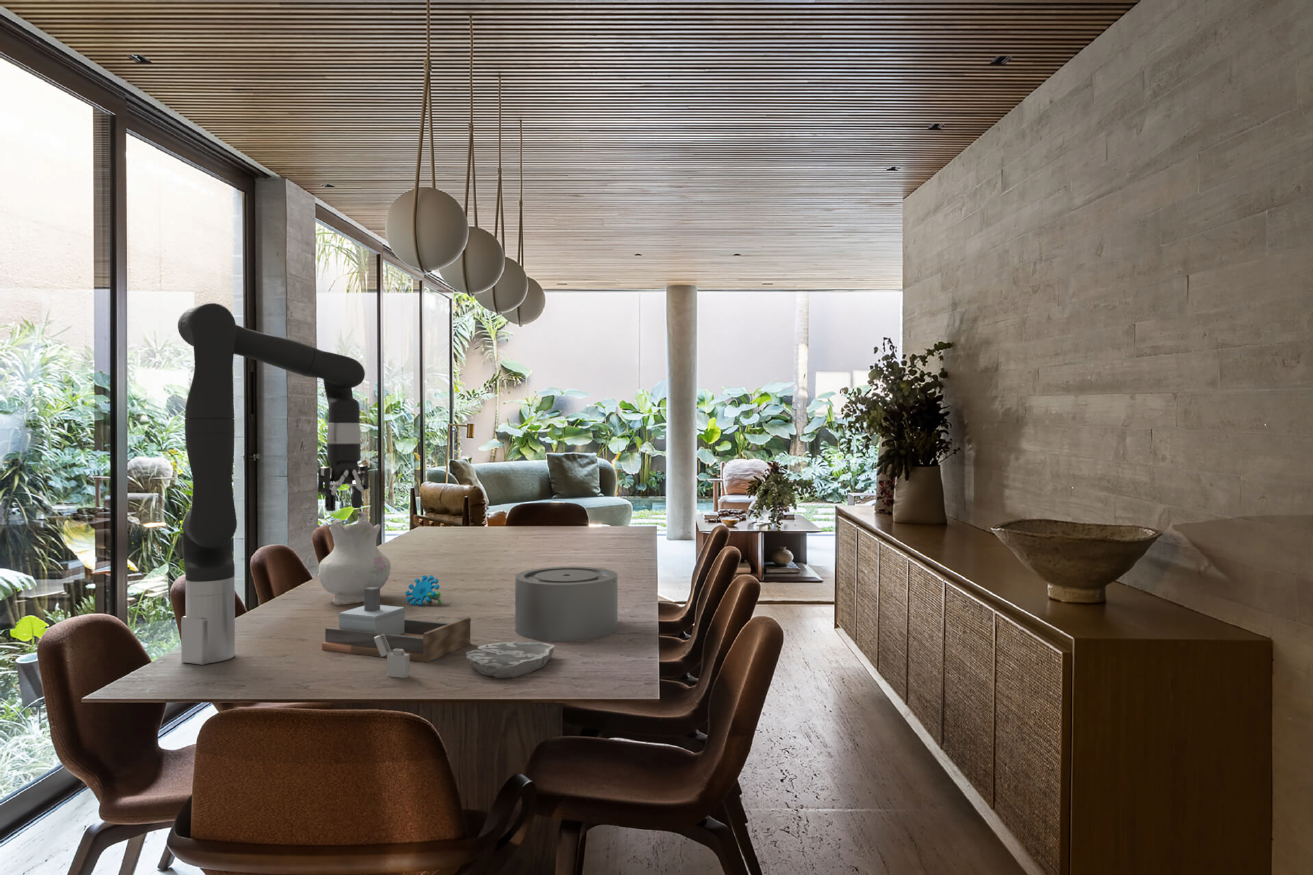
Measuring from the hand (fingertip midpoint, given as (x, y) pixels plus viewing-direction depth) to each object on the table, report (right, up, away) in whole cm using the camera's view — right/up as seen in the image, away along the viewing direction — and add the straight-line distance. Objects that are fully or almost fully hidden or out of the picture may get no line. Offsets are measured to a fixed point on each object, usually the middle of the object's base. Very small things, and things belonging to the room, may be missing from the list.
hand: (344, 509), depth 195 cm
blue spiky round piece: (+10, -30, +33) cm, 46 cm away
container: (+53, -30, +5) cm, 61 cm away
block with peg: (+10, -28, -10) cm, 31 cm away
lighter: (+22, -30, -34) cm, 50 cm away
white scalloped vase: (-12, -30, +39) cm, 51 cm away
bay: (+17, -30, -12) cm, 36 cm away
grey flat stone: (+44, -31, -27) cm, 60 cm away
